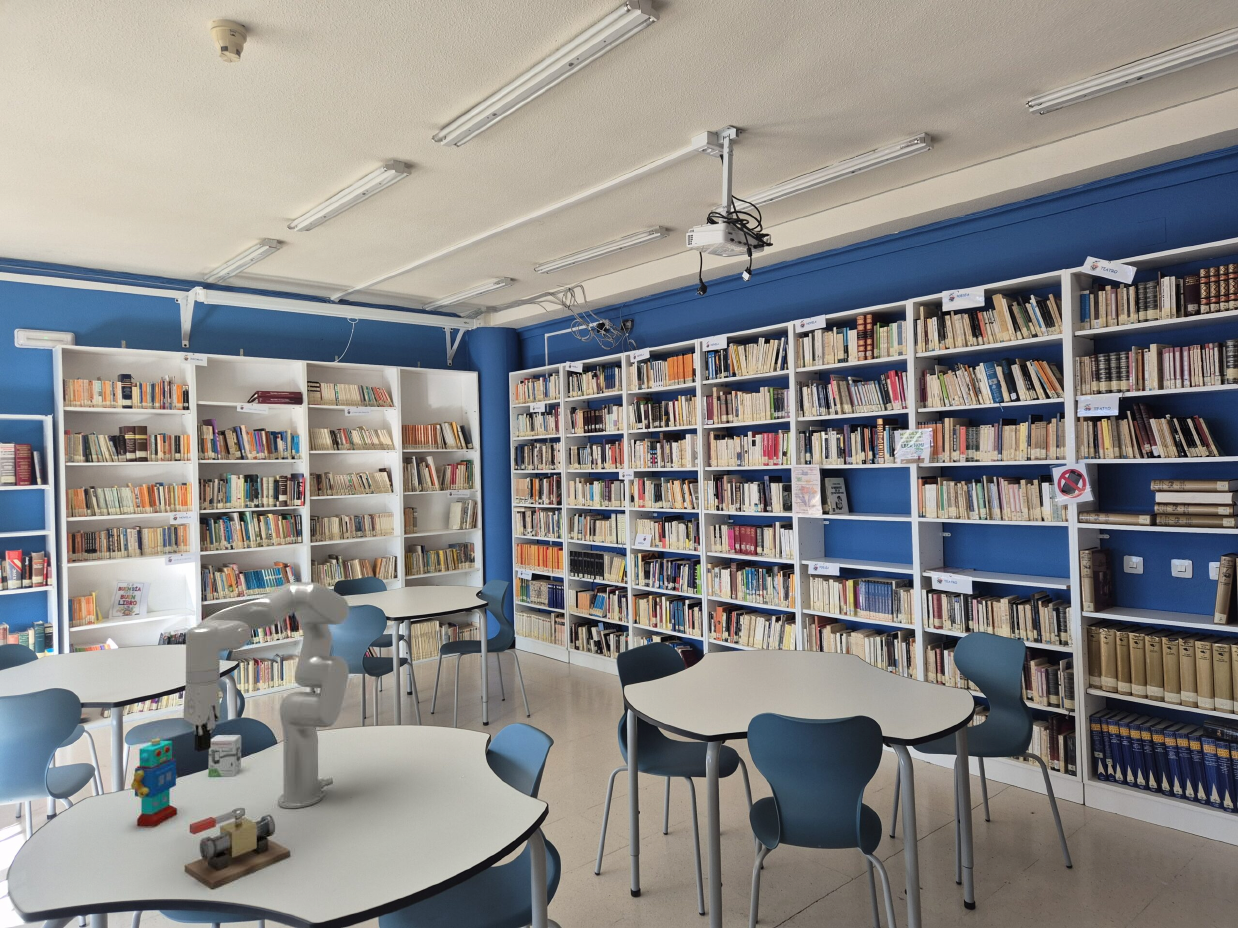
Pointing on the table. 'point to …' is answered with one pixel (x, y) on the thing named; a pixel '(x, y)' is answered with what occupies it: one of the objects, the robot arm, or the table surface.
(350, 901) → the table surface
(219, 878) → the mounting board
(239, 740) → the ink box
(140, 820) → the toy robot
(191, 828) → the valve lever
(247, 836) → the valve pipe
